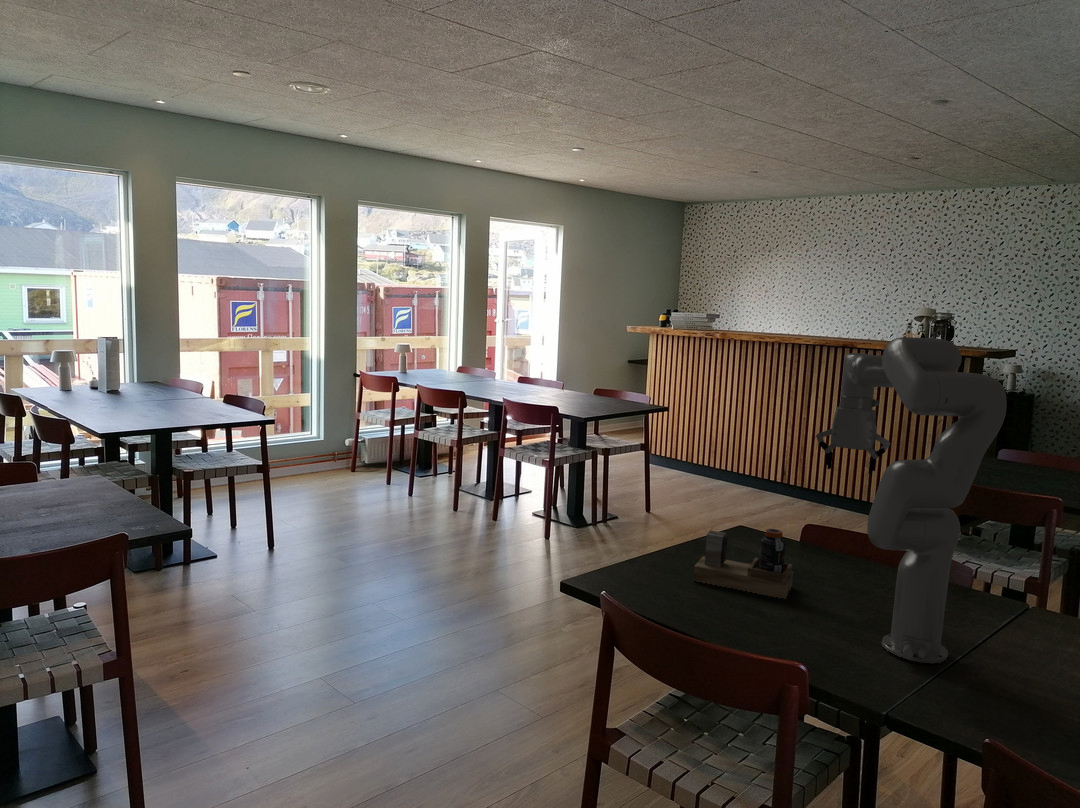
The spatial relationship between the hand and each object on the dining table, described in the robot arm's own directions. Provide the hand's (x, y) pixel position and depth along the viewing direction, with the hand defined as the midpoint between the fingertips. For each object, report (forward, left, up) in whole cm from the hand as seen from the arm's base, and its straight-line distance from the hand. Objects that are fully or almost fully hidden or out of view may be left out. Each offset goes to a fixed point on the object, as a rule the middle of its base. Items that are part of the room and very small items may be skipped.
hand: (849, 470), depth 196 cm
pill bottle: (-12, +15, -26) cm, 33 cm away
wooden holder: (-12, +22, -30) cm, 39 cm away
